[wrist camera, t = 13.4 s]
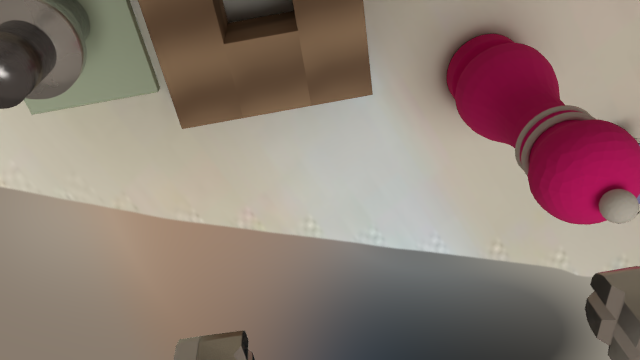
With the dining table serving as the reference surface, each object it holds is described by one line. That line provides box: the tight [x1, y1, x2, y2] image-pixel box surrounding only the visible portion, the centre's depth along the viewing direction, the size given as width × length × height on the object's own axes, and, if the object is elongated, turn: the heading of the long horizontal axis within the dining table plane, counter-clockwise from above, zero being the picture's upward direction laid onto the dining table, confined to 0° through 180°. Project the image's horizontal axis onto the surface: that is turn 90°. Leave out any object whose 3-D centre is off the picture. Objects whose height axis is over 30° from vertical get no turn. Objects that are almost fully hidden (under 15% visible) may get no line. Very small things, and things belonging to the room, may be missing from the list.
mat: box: [24, 0, 160, 115], centre depth 36 cm, size 13×10×1 cm
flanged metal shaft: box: [0, 0, 90, 109], centre depth 31 cm, size 6×6×11 cm
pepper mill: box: [447, 34, 640, 224], centre depth 34 cm, size 7×7×20 cm
